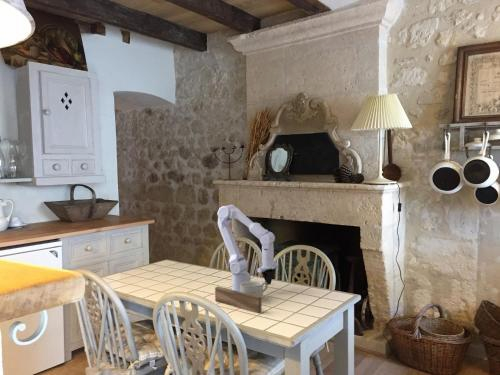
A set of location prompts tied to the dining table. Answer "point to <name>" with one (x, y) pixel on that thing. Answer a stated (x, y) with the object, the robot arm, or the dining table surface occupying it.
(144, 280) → the dining table surface
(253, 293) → the teacup
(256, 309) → the wall board
